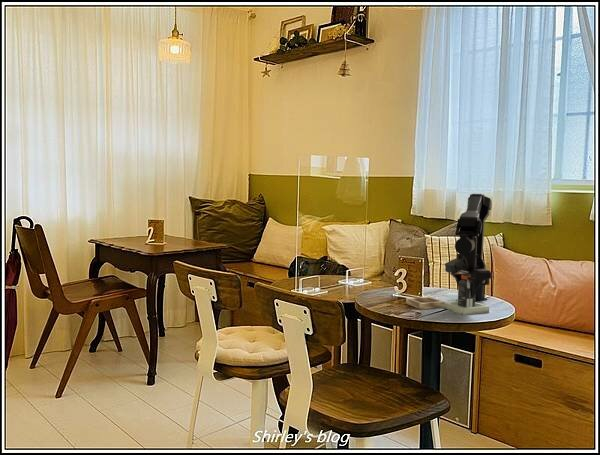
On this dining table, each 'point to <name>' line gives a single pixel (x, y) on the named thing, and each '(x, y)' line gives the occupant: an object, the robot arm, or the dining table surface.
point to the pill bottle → (465, 293)
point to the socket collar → (425, 302)
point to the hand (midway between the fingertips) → (466, 295)
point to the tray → (471, 310)
